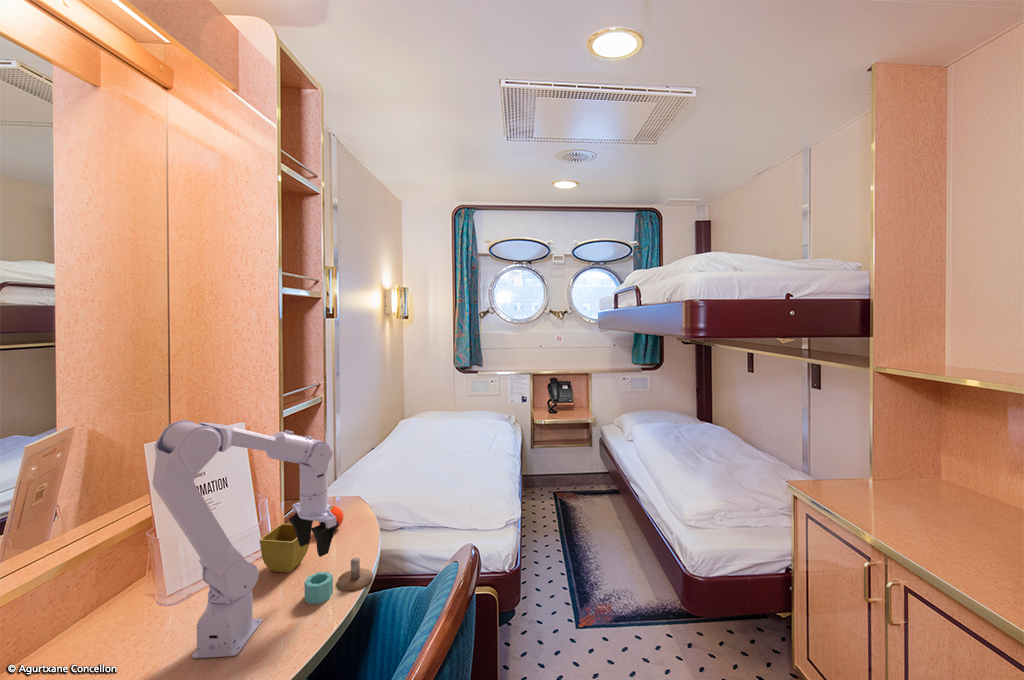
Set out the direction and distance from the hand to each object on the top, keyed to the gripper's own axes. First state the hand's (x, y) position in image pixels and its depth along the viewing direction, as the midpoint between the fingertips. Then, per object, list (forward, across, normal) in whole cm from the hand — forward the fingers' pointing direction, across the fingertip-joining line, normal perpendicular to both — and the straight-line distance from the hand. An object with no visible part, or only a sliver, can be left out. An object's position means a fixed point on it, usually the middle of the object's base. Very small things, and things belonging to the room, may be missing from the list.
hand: (313, 549), depth 97 cm
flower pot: (+10, +14, -1) cm, 17 cm away
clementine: (+10, +23, -19) cm, 31 cm away
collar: (+10, -3, +1) cm, 10 cm away
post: (+9, -5, -8) cm, 13 cm away
